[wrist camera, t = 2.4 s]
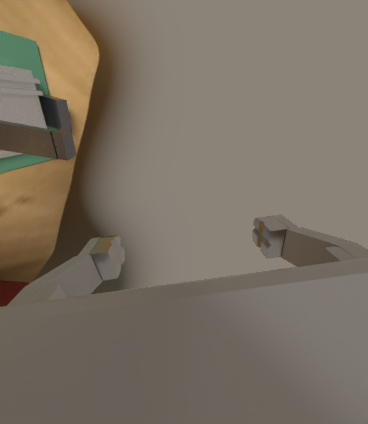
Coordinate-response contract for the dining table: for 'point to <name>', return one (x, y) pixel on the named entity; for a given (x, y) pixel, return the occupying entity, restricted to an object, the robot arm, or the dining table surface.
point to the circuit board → (29, 59)
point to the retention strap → (36, 141)
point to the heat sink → (28, 103)
